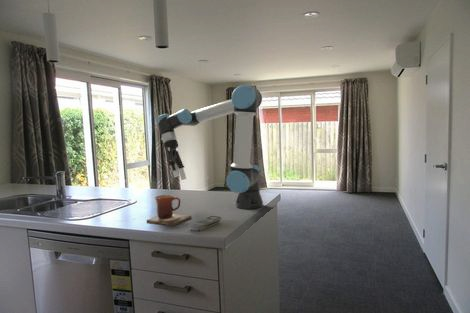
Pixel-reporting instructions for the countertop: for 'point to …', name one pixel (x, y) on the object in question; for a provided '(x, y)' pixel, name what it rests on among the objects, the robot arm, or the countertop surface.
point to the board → (170, 220)
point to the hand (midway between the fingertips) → (180, 178)
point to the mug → (165, 206)
